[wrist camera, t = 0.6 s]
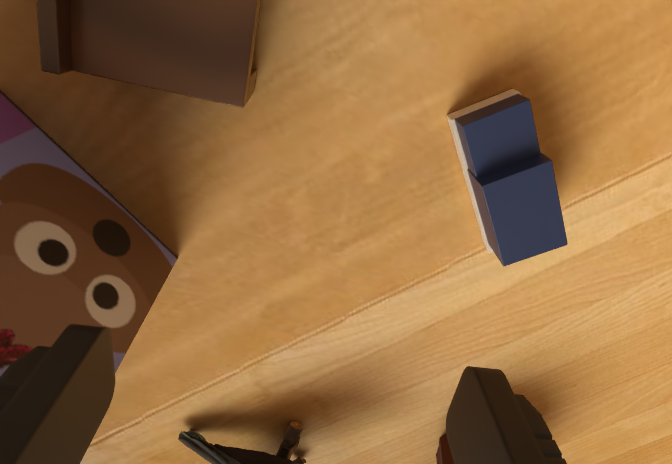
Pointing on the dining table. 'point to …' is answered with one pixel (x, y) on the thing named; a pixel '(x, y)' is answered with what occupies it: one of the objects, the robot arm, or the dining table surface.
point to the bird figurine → (236, 460)
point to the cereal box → (66, 247)
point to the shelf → (155, 44)
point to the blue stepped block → (508, 177)
